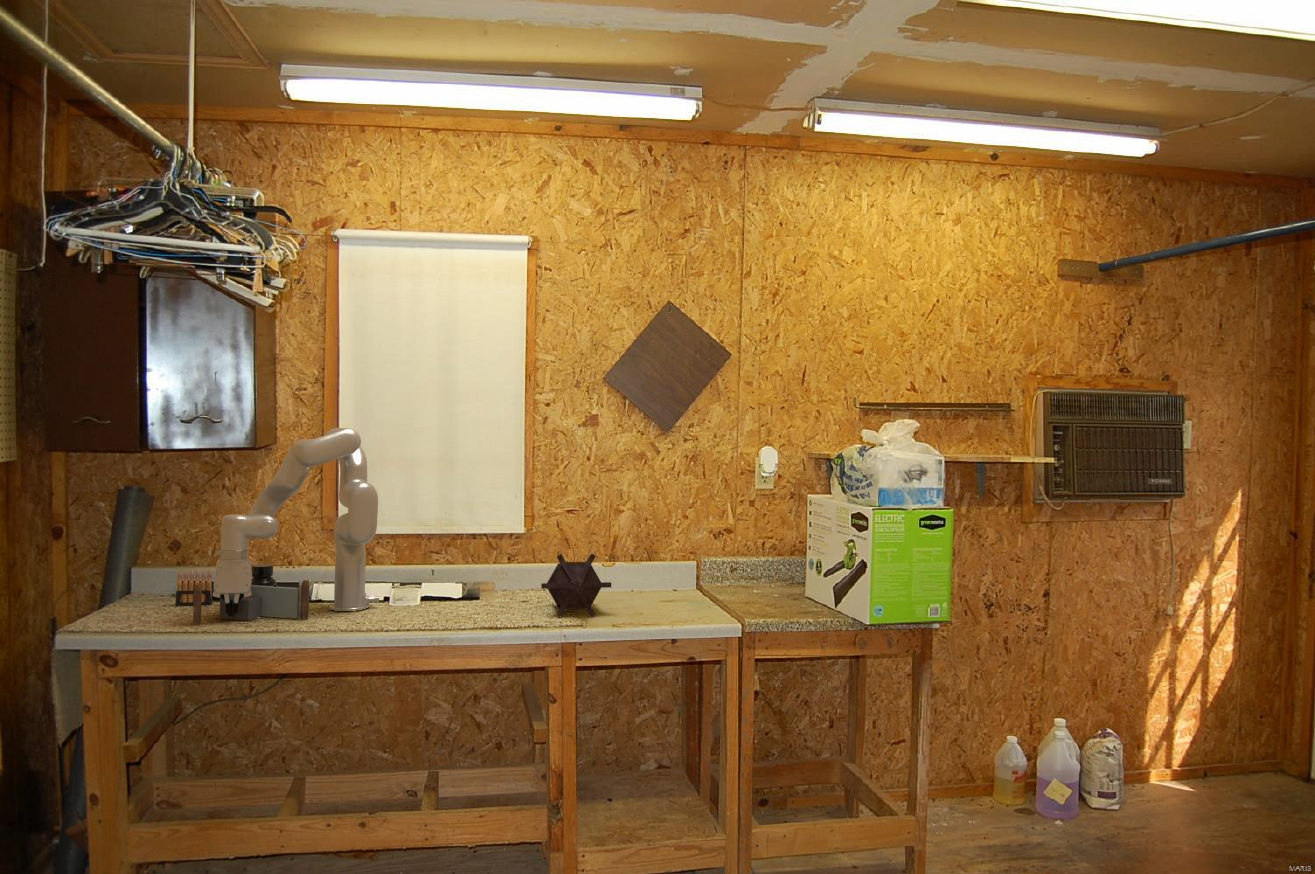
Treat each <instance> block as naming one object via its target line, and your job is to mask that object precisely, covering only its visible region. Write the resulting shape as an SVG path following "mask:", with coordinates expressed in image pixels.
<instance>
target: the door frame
mask: <svg viewBox="0 0 1315 874" xmlns="http://www.w3.org/2000/svg"><path fill="white" fill-rule="evenodd" d="M298 588H299V610H298V618H297V619H302V620H301V621H305V620H304V619H308V620H309V618H310V617H309V615H310V614H309V613H310V611H309V610H310V609H309V608H310V606H309V605H310V579H302V580H301V579H300V580H299V581H298ZM201 605H202V584H195V585H194V605H193V606H192V607H193V611H192V613H193V615H192V617H193V618H192V626H193V627H194V626H195V627H196V626H200V625H201V624H202V606H201ZM308 617H309V618H308Z"/></svg>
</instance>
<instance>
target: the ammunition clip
mask: <svg viewBox="0 0 1315 874" xmlns="http://www.w3.org/2000/svg"><path fill="white" fill-rule="evenodd" d="M205 571H206V570H205V569H204V568H203V569H202V571H201V574H200V571H199V569H196V572H195V573H194V570H193V568H192V569H190V572H189V576H188V571H187V569H185V570H184V573H183V574H182V570H181V569H179V570H178V574H177V581H176V592H175V593H176V594H175V604H174V606H175V607H193V605H194V585H195V584H202V605H201V607H203V606H204V607H205V606H206V605H208V606H209V605H211V606H212V605H213V580H212V571H211V569H210V568H208V570H207V576H206V572H205ZM194 574H195V578H194ZM182 575H183V576H182ZM200 575H201V576H200ZM200 577H201V578H200ZM206 577H207V578H206ZM206 607H207V606H206Z"/></svg>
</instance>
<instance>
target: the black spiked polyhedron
mask: <svg viewBox="0 0 1315 874" xmlns="http://www.w3.org/2000/svg"><path fill="white" fill-rule="evenodd" d="M596 557H597V555H595V554H593V553H591V554H590V555H589V556H588V558H587V559H586V561H566V559H565V558H564V556H563V554H562V553H560V554H558V555H557V556H556V558H557V560H558V562H559V563H557V564H556V566H555V568H554V570H553V572H552V573H551V575H550V577H549V578H548V580H547V582H546V583H544V582H543V583H541V584H540V585H541V587H540V588H541V589H543V590H545V589H547V590H548V592H549V594H550V596H551V597H552V599H553V601H554V603H555V604H556V606H557V607H558V606H561V607H559V609H558V610H557V613H556V617H558V616H562V617H563V616H564V613H565V612H566V610H586V612H587V613H588V614H589V616H590V617H591V618H594V617H595V616H596V615H597V613H596V612H595V610H594V608H593V606H592V605H594V604H593V603H594V602H595V600H596V598H597V596H598V595H599V593H600V590H601V589H602V588H605V589H606V588H608V589H609V588H612V582H611V581H610V582H609V581H607V582H603V581H602V582H601V579H600V577H599V576H598V574H597V572H596V571H595V569H594V567H593V565H592V564H593V562H594V560H595V558H596Z"/></svg>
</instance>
